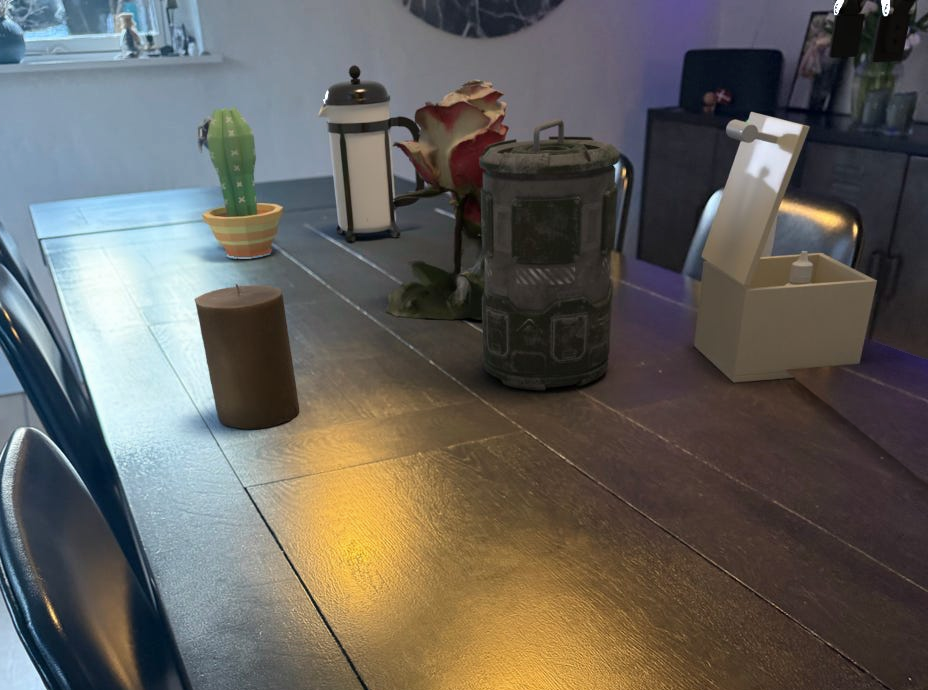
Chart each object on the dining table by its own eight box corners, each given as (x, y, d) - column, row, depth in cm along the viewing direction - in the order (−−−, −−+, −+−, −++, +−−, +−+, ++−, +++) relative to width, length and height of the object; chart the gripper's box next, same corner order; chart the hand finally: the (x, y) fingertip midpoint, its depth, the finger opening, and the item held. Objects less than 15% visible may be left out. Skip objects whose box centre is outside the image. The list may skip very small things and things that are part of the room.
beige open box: (806, 337, 125) (821, 252, 119) (857, 372, 113) (877, 280, 107) (694, 346, 124) (703, 261, 118) (733, 382, 112) (745, 290, 106)
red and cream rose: (560, 327, 133) (567, 85, 116) (374, 317, 142) (354, 90, 125) (596, 282, 153) (605, 70, 136) (430, 276, 162) (419, 75, 145)
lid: (756, 113, 109) (718, 103, 108) (810, 126, 97) (767, 115, 96) (706, 258, 118) (670, 250, 116) (749, 286, 106) (709, 278, 104)
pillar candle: (301, 425, 107) (282, 290, 98) (215, 433, 106) (188, 298, 97) (298, 396, 115) (280, 269, 106) (218, 404, 113) (194, 276, 105)
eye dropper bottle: (761, 347, 120) (775, 248, 113) (805, 345, 120) (822, 246, 113) (770, 357, 116) (786, 256, 109) (815, 355, 116) (834, 254, 109)
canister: (512, 346, 127) (511, 113, 111) (624, 358, 121) (640, 113, 105) (463, 384, 115) (453, 130, 99) (584, 399, 109) (595, 131, 93)
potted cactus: (261, 242, 191) (240, 102, 176) (304, 252, 181) (286, 105, 167) (194, 256, 182) (167, 111, 168) (236, 267, 173) (211, 114, 159)
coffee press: (380, 246, 183) (366, 68, 166) (317, 239, 190) (298, 68, 173) (429, 229, 194) (420, 61, 177) (368, 223, 202) (354, 61, 185)
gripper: (989, -162, 84) (940, 61, 93) (893, -138, 98) (859, 54, 108) (909, -158, 83) (868, 65, 93) (824, -135, 97) (796, 57, 107)
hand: (863, 59), depth 100 cm, fingers open, 9 cm apart
